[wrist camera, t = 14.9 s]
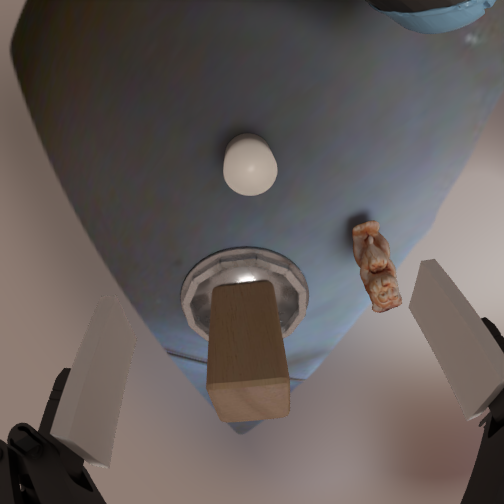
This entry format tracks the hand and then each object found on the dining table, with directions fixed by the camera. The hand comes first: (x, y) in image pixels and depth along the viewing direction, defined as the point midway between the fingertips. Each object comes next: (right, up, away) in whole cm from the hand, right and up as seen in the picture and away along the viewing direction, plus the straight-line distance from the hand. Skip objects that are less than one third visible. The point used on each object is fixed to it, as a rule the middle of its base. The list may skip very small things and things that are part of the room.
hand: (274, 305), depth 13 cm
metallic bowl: (-2, -6, +40) cm, 41 cm away
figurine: (+16, +5, +35) cm, 38 cm away
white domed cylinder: (-2, +15, +27) cm, 31 cm away
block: (-2, -6, +40) cm, 40 cm away
